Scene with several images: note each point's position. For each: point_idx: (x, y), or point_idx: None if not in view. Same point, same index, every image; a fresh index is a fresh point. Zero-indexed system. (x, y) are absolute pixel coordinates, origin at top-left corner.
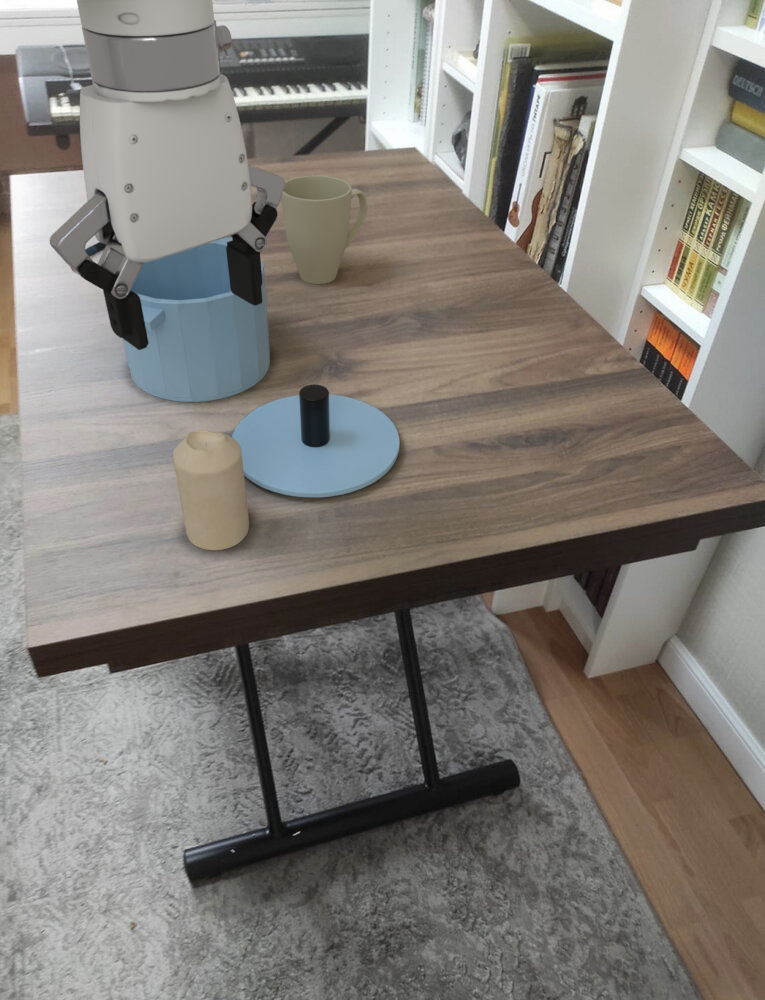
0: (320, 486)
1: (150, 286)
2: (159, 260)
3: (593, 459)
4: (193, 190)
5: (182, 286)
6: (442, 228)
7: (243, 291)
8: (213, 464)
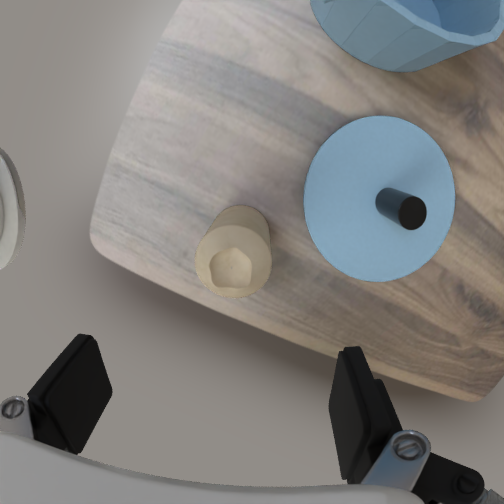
0: (341, 260)
1: None
2: None
3: (478, 344)
4: None
5: None
6: None
7: (336, 395)
8: (221, 293)
